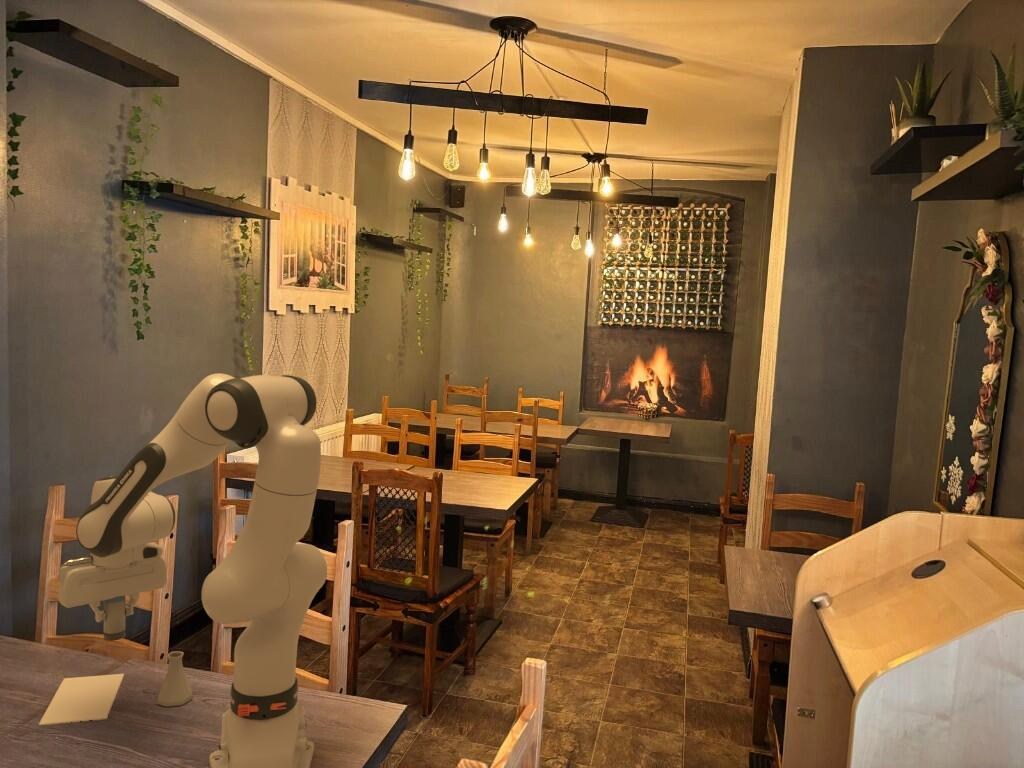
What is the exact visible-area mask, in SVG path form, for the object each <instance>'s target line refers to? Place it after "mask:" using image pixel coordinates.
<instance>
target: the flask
mask: <svg viewBox="0 0 1024 768" xmlns="http://www.w3.org/2000/svg"><path fill="white" fill-rule="evenodd" d="M184 653H185V652H184V651H180V650H178V651H171V652H169V653H168V654H167V656H166V657H167V660H168V667H167V672H166V675H165V678H164V681H163V683H162V685H161V689H160V690H159V693H158V696H157V700H156V705H158V706H159V705H160V706H163V707H169V708H170V707H177V706H179V707H180V706H183V705H184V704H186V703H189V702H190V701H191V700H193V694H194V692H193V689H192V687H191V685H190V682H189V681H188V678H187V675H186V672H185V670H184V665H183V657H184Z"/></svg>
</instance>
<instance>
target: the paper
mask: <svg viewBox="0 0 1024 768" xmlns="http://www.w3.org/2000/svg"><path fill="white" fill-rule="evenodd" d="M124 676H125V673H116V674H103V675H93V676H92V675H91V676H79V677H65V678H63V680H62V682H61V683H60V684H59V687H58V689H57V690H56V692H55V695H54V696H53V697H52V699H51V701H50V703H49V705H48V707H47V708H46V710H45V712H44V714H43V715H42V717H41V719H40V721H39V723H38V726H49V725H57V724H59V725H60V724H70V723H71V722H72V723H80V721H82V722H90V721H89V720H93V721H101V720H107V719H108V717H109V715H110V712H111V709H112V707H113V704H114V702H115V699H116V697H117V694H118V693H119V689H120V686H121V685H122V682H123V679H124ZM108 714H109V715H108ZM72 723H71V724H72Z"/></svg>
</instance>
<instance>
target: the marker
mask: <svg viewBox="0 0 1024 768" xmlns="http://www.w3.org/2000/svg"><path fill="white" fill-rule="evenodd" d="M125 605H126V596H119V597H115V598H112V599H108V600H103V611H104V612H106V617H105V618H106V621H103V640H104V641H109V642H111V641H113V642H114V641H119V640H122V639H124V638H125V637H126V616H125Z"/></svg>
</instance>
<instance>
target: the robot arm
mask: <svg viewBox="0 0 1024 768" xmlns="http://www.w3.org/2000/svg"><path fill="white" fill-rule="evenodd" d="M316 410H317V396H316V393H315V391H314V388H313V387H312V385H311V384H310V383H309V382H308V381H306V380H305V379H303V378H301V377H298V376H293V375H288V374H286V375H285V374H284V375H265V374H258V375H250V376H245V377H241V378H240V377H239V378H238V377H234V376H232V375H230V374H226V373H220V372H219V373H212V374H209V375H207V376H206V377H204V378H203V379H202V380H201V381H200V382H199V383H198V384H197V385H196V386H195V387H194V388H193V389H192V390H191V392H190V393H189V394H187V396H186V398H185V399H184V400H183V402H182V404H180V407H179V408H178V410H177V411H176V412H175V414H174V415H173V417H172V418H171V419H170V421H169V422H168V423H167V424H166V426H165V427H164V428H163V429H162V430H161V431H160V432H159V433H158V434H157V435H156V436H155V437H154V438H153V439H152V440H151V441H150V442H149V443H148V444H146V445H145V446H143V448H141V449H140V450H139V451H137V453H136V454H135V455H134V456H133V457H132V459H131V460H130V461H129V462H128V463H127V465H125V466H124V468H123V470H122V471H121V472H120V473H119V474H117V475H110V476H104V477H101V478H99V479H97V480H96V481H95V482H94V483H93V484H94V485H93V487H92V492H91V497H90V505H88V506H86V507H85V509H84V510H83V512H81V515H80V517H79V518H78V521H77V524H76V527H75V528H76V530H75V533H76V539H77V541H78V544H79V545H80V546H81V547H82V548H83V549H84V550H85V551H87V552H88V553H89V554H90V556H84V557H80V558H75V559H74V558H72V559H69V560H67V561H65V562H64V563H63V564H61V565H60V567H59V569H58V580H59V582H60V583H59V587H58V602H59V603H60V604H61V605H62V606H64V607H65V608H68V609H69V608H73V607H74V608H75V607H78V606H83V605H87V604H88V606H89V607H90V608H91V610H92V611H93V612H94V613H95V615H94V616H95V617H94V619H95V621H96V622H97V623H101V622H104V621H106V618H105V617H106V612H104V610H100V609H99V607H101V601H103V602H104V600H108V599H112V598H115V597H119V596H125V597H126V596H128V597H129V600H128V602H127V604H125V617H128V616H131V615H134V607H135V605H136V604H137V602H138V601H139V599H140V594H141V593H145V592H150V591H155V590H159V589H163V588H164V587H165V586H166V584H167V583H168V582H167V581H168V574H167V573H168V571H167V566H166V565H167V564H166V561H165V559H164V557H162V556H163V551H164V550H163V547H162V546H160V545H159V544H158V543H156V541H160V540H163V539H164V538H167V537H169V535H170V534H171V533H172V532H173V530H174V528H175V524H176V509H175V507H174V505H173V503H172V501H171V500H170V499H169V498H168V497H166V496H164V495H163V494H158V493H155V492H153V491H152V490H153V489H156V487H158V486H160V485H161V484H163V483H165V482H167V481H170V480H172V479H175V478H176V477H180V476H182V475H185V474H188V473H191V472H194V471H197V470H200V469H202V468H205V467H207V466H209V465H210V464H212V463H213V462H214V461H215V460H217V458H219V457H220V456H221V454H222V453H223V452H224V451H225V449H226V448H227V447H228V445H229V444H230V442H231V441H232V442H234V443H235V444H236V445H237V446H238V447H240V448H242V449H245V450H247V449H251V448H253V447H255V448H256V450H257V454H258V463H257V468H256V473H255V477H254V482H253V488H252V493H251V497H250V498H251V499H250V501H249V507H248V511H247V516H246V519H245V521H244V524H243V526H242V529H241V531H240V532H239V534H238V536H237V538H236V540H235V542H234V544H233V545H232V547H231V549H230V550H229V552H228V553H227V555H226V556H225V557H224V558H223V560H222V561H221V562H220V563H219V564H218V565H217V567H215V569H213V570H212V571H211V572H210V573H208V575H207V576H206V578H205V579H204V581H203V584H202V586H201V587H202V588H201V602H202V606H203V608H204V611H205V612H206V615H207V616H208V617H209V618H210V619H212V620H213V621H214V622H216V623H218V624H220V625H231V624H233V625H234V624H238V623H246V622H249V624H248V625H247V626H246V628H245V629H244V630H243V632H241V633H240V635H239V637H238V639H237V640H236V643H235V646H234V652H233V653H234V655H233V657H234V658H233V659H234V660H233V661H234V662H233V682H232V684H231V686H230V692H229V698H230V707H229V708H228V709H227V710H225V712H224V713H223V714H222V716H221V733H220V734H221V735H220V743H219V745H218V749H217V750H215V751H212V752H211V753H210V754H209V758H208V763H209V766H210V768H311V764H312V759H313V756H314V753H315V743H314V742H313V741H311V740H308V737H307V736H306V735H305V729H306V728H307V720H305V706H304V705H302V704H301V703H300V702H299V701H298V694H299V686H298V685H299V684H298V678H297V677H296V676H297V675H296V672H297V670H296V669H297V656H298V655H297V653H298V645H299V644H298V643H299V638H300V634H301V629H302V627H303V624H304V620H305V618H306V615H307V613H308V611H309V608H310V607H311V604H312V601H313V599H314V598H315V596H316V595H317V593H318V592H319V590H320V589H321V588H322V587H323V585H324V584H325V583H326V580H327V577H328V575H327V574H328V566H327V561H326V559H325V556H324V554H323V553H322V552H321V551H320V549H319V548H318V547H317V546H315V545H312V544H310V543H298V542H300V540H301V539H302V538H303V537H304V536H305V535H306V533H307V532H308V530H309V528H310V526H311V521H312V516H313V512H314V506H315V501H316V496H317V490H318V488H319V481H320V474H321V472H320V471H321V463H322V462H321V459H322V451H321V450H322V448H321V445H322V444H321V439H320V437H319V435H318V434H317V433H316V432H315V431H314V430H313V429H311V428H310V427H308V426H306V425H307V424H308V423H309V422H311V420H312V419H313V417H314V416H315V414H316Z"/></svg>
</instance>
